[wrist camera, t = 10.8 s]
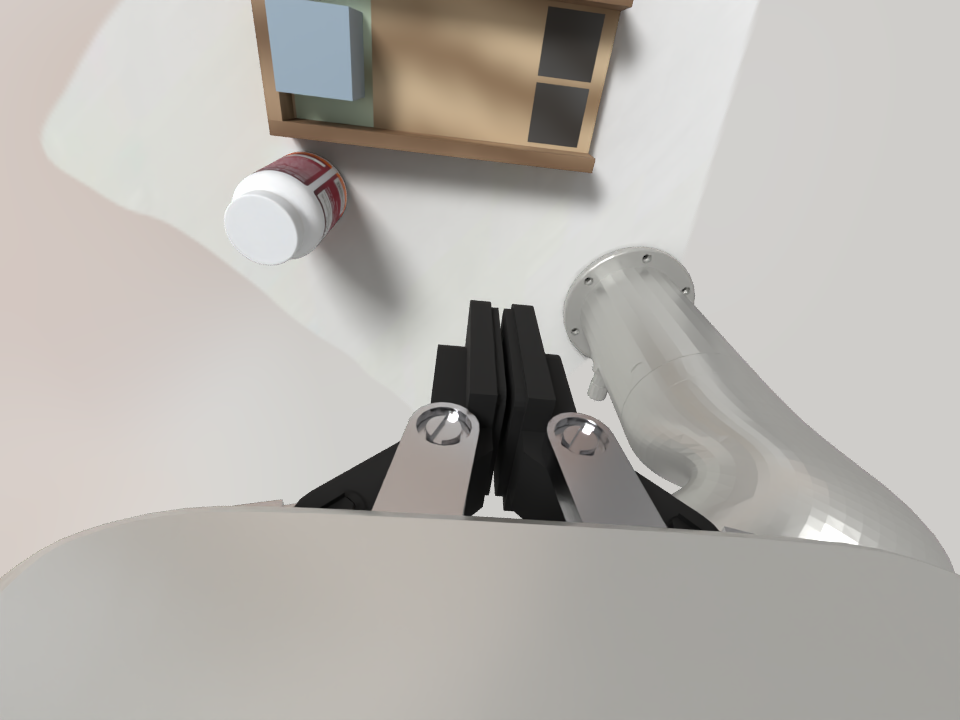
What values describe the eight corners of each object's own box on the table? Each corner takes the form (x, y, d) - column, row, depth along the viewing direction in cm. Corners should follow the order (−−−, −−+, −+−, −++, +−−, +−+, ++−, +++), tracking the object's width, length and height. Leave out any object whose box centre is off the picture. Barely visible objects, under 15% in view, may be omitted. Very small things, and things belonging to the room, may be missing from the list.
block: (364, 97, 33) (352, 101, 29) (296, 88, 32) (276, 91, 29) (362, 12, 30) (348, 6, 27) (287, 1, 29) (263, -7, 26)
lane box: (582, 164, 36) (592, 173, 33) (287, 128, 35) (270, 134, 32) (621, -6, 30) (636, -14, 27) (264, -60, 28) (240, -74, 26)
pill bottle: (259, 183, 37) (189, 223, 28) (306, 132, 35) (247, 157, 26) (317, 240, 40) (270, 292, 31) (364, 196, 38) (329, 238, 28)
